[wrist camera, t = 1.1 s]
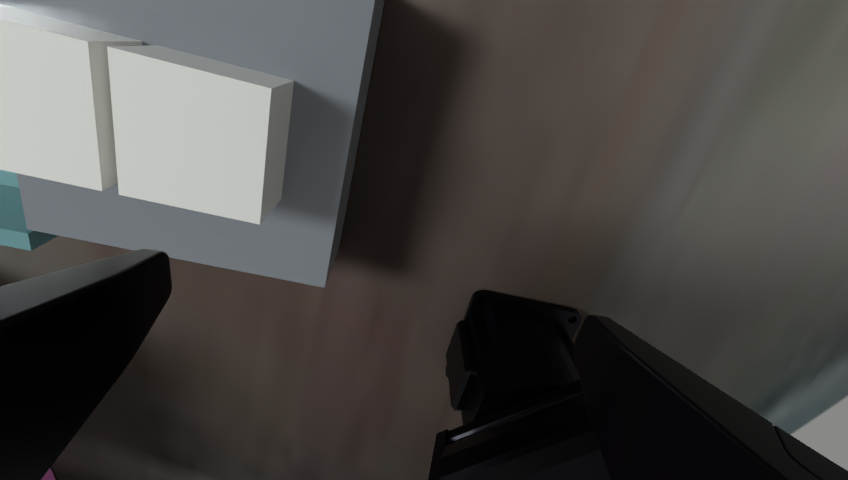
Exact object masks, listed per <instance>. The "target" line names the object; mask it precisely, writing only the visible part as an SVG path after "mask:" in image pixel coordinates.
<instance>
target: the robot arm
mask: <svg viewBox="0 0 848 480" xmlns="http://www.w3.org/2000/svg"><path fill="white" fill-rule="evenodd" d="M171 290H172V282H171V271H170V261H169V256H168V254H167V253H166V252H164V251H160V250H153V249H147V248H146V249H139V250H135V251H132V252H128V253H124V254H120V255H116V256H113V257H109V258H105V259H101V260H98V261H94V262H90V263H86V264H82V265H79V266H75V267H71V268H67V269H64V270H60V271H56V272H52V273H48V274H45V275H41V276H37V277H33V278H30V279H26V280H22V281H18V282H14V283H11V284H7V285H3V286H0V480H41V479H42V478H43V476H44V475H45V474H46V473H47V471H48V470H49V469H50V467H51V466H52V465H53V463H54V462H55V461H56V459H57V458H58V457H59V455H60V454H61V453H62V451H63V450H64V449H65V447H66V446H67V445H68V443H69V442H70V441H71V440H72V438H73V437H74V436H75V434H76V433H77V432H78V430H79V429H80V428H81V426H82V425H83V424H84V422H85V421H86V420H87V418H88V417H89V416H90V414H91V413H92V412H93V410H94V409H95V408H96V407H97V405H98V404H99V403H100V401H101V400H102V399H103V397H104V396H105V395H106V393H107V392H108V391H109V389H110V388H111V387H112V385H113V384H114V383H115V381H116V380H117V379H118V377H119V376H120V375H121V374H122V372H123V371H124V370H125V368H126V367H127V365H128V364H129V363H130V361H131V360H132V358H133V357H134V355H135V354H136V352H137V351H138V349H139V347H140V346H141V344H142V342H143V341H144V339H145V337H146V336H147V334H148V332H149V331H150V329H151V327H152V325H153V324H154V322H155V320H156V319H157V317H158V315H159V314H160V312H161V310H162V309H163V307H164V305H165V304H166V302H167V300H168V299H169V297H170V294H171ZM480 298H484V300H483V301H478V299H480ZM572 316H574V318H572V319H569V318H570V317H572ZM580 322H581V316H580V314H579V312H578V311H577V310H575V309H572V308H567V307H562V306H557V305H552V304H547V303H543V302H538V301H533V300H528V299H523V298H518V297H513V296H508V295H504V294H499V293H494V292H489V291H484V290H479V291H476V292H475V293H474V294H473V295H472V298H471V300H470V303H469V306H468V309H467V311H466V314H465V317H464V320H463V321H462V320H461V321H460V322H458V323H457V325H456V328H455V331H454V334H453V336H452V339H451V342H450V345H449V347H448V350H447V353H446V359H447V366H446V376H447V377H448V379H449V388H450V398H451V406H452V407H453V409H454V410H455V411H460V412H461V413H462V421H463V426H460V427H458V428H455V429H453V430H450V431H449V430H448V429H447V430H444V431H442V432H439V433H437V435H436V441H435V446H434V451H433V457H432V462H431V467H430V473H429V478H428V480H848V471H847V470H845V469H843V468H842V467H840V466H839V465H837V464H835V463H834V462H832V461H830V460H829V459H827V458H826V457H824V456H823V455H821V454H819V453H818V452H816V451H815V450H813V449H811V448H810V447H808V446H806V445H805V444H803V443H802V442H800V441H799V440H797V439H796V438H794V437H793V436H791V435H790V434H788V433H786V432H785V431H783V430H782V429H780V428H779V427H777V426H773V425H772V423H771V422H769V421H768V420H766V419H765V418H763V417H762V416H760V415H758V414H757V413H755V412H754V411H752V410H751V409H749V408H748V407H746V406H745V405H743V404H741V403H740V402H738V401H737V400H735V399H734V398H732V397H731V396H729V395H727V394H726V393H724V392H723V391H721V390H720V389H718V388H717V387H715V386H714V385H712V384H710V383H709V382H707V381H706V380H704V379H703V378H701V377H700V376H698V375H697V374H695V373H693V372H692V371H690V370H689V369H687V368H686V367H684V366H683V365H681V364H679V363H678V362H676V361H675V360H673V359H672V358H670V357H669V356H667V355H666V354H664V353H662V352H661V351H659V350H658V349H656V348H655V347H653V346H652V345H650V344H649V343H647V342H645V341H644V340H642V339H641V338H639V337H638V336H636V335H635V334H633V333H632V332H630V331H628V330H627V329H625V328H624V327H622V326H621V325H619V324H618V323H616V322H614V321H613V320H611V319H610V318H608V317H605V316H598V315H589V316H587V317H586V318H585V320H584V322H583V325H582V327H581V329H580V331H579V334H578V336H577V338H576V340H575V343H574V345H573V343H572V341H571V339H572V337H573V335H574V333H575V331H576V329H577V328H578V326H579V324H580Z"/></svg>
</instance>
